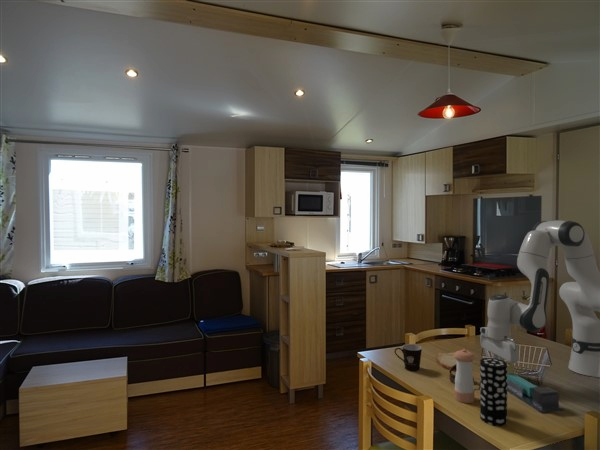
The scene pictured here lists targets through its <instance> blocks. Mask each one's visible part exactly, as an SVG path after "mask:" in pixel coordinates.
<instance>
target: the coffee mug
mask: <svg viewBox="0 0 600 450" xmlns="http://www.w3.org/2000/svg"><path fill="white" fill-rule="evenodd" d="M422 349H423V348H422V346H421V345H418V344H415V343H414V344H413V343H407V344H403V345H402V347H401V348H400V347H396V348H395V349H394V354H395V356H396V357H397V358H398V359H399V360H401V361H402V362H403V363H404V369H405V370H406V371H410V372H418V371H420V367H421V359H422V351H423V350H422ZM397 350H400V351H401V352H402V355H403V358H402V357H401V356H400V355H398V353H397Z"/></svg>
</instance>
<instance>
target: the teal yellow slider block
mask: <svg viewBox="0 0 600 450" xmlns="http://www.w3.org/2000/svg"><path fill="white" fill-rule="evenodd" d="M514 372H515V365H514V364H512V362H508V363H507V383H508V380H512V381H514V382H515V383H517V384H519V385H520V386H522V387H524V394H526V395H527V396H529V397H532V389H533V388H539V386H537V385H535V384H533V383H531V382H530V381H528V380H526V379H525V378H523V377H521V376H519V375H517V374H515V373H514ZM524 379H525V380H524Z"/></svg>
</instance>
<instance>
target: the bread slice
mask: <svg viewBox="0 0 600 450" xmlns="http://www.w3.org/2000/svg"><path fill="white" fill-rule="evenodd" d="M455 353H456V351H453V352H442V351H438V353H437V354H436V357H435V360H436V363H437V364H438V366H440V367H441V368H443V369H444V370H448V371H449V370H450V368H451V367H452V366H454V365H455V364H456V363H457V360H456V359H455V356H454V355H455ZM452 372H455V373H456V371H455V369H453V370H452Z"/></svg>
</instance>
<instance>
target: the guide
mask: <svg viewBox="0 0 600 450" xmlns="http://www.w3.org/2000/svg"><path fill="white" fill-rule="evenodd" d="M523 379H524V380H526V379H525V378H523ZM507 393H509V394H511V395H513V396H514V397H515V398H517V399H519V400H520V401H522V402H524V403H525V404H526V405H528V406H530V407H531V408H533V409H534V410H536V411H537V412H539V413H541V414H544V413H545V414H546V413H552V412H563V411H564V409H565V408H564V407H563V406H561V405H560V403H559V399H560V394H558V393H559V392H558V391H557V390H556V389H554V388H552V387H550V386H545V387H538V388H533V389H532V397H529V396H527V395H526V394H524V387H522V386H520V385H519V384H517V383H515V382H514V381H512V380H508V383H507Z"/></svg>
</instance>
